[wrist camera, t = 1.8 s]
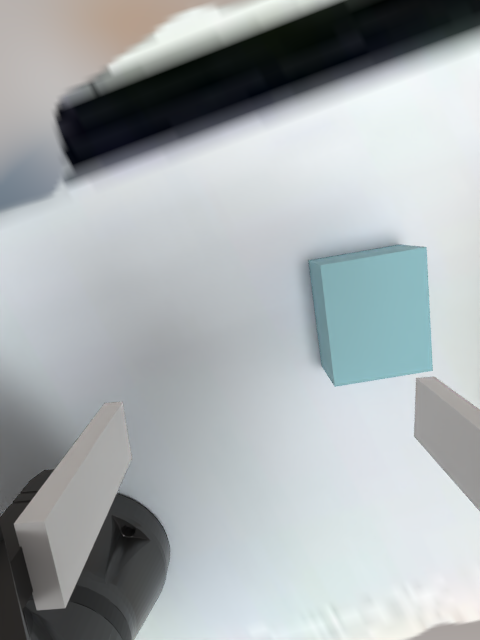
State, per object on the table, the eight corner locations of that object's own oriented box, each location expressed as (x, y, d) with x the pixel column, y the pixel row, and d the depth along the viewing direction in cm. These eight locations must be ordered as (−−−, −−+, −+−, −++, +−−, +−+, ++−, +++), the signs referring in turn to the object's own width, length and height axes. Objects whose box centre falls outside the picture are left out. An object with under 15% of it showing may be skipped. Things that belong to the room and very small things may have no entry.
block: (321, 365, 35) (334, 386, 30) (307, 260, 33) (320, 265, 28) (405, 351, 35) (432, 370, 30) (397, 244, 32) (426, 247, 28)
